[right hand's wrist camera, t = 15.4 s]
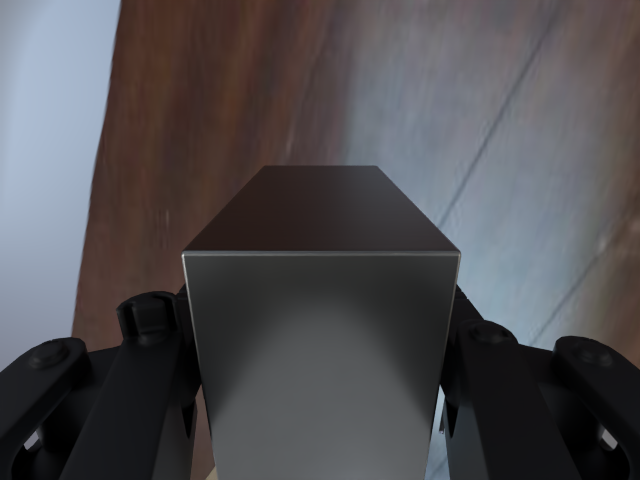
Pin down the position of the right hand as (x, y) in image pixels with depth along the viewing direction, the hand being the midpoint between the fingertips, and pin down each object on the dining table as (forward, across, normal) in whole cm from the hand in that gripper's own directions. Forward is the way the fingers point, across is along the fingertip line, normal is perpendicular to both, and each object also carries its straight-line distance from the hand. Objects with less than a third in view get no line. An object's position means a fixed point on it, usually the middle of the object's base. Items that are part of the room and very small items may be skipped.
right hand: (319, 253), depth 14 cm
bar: (+1, 0, -10) cm, 10 cm away
